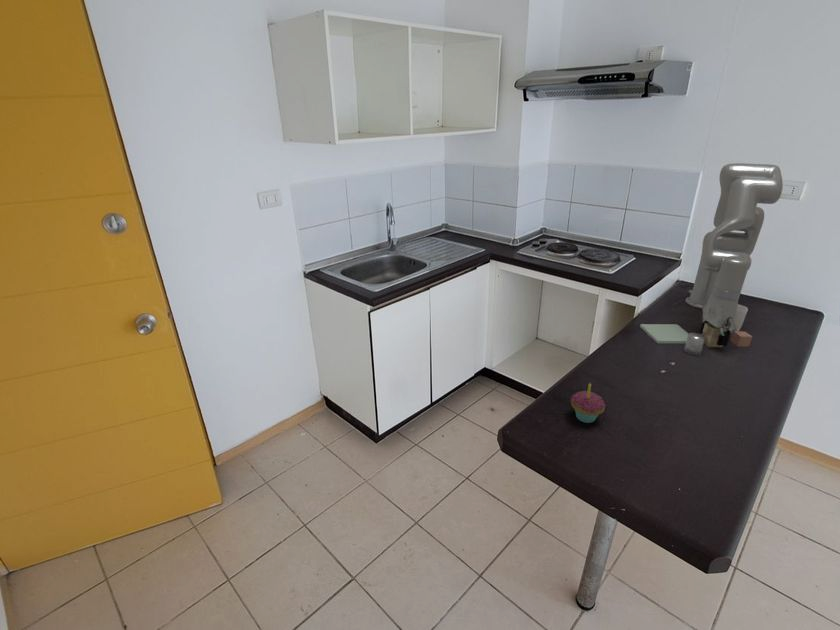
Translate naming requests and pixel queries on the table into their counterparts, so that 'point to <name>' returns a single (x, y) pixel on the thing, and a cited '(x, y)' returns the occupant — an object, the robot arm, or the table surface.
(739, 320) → the white cup
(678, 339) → the sage plate
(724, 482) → the table surface
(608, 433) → the table surface
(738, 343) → the terracotta cube
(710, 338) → the maple block
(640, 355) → the table surface
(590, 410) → the cupcake
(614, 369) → the table surface
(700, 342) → the grey metal cylinder
